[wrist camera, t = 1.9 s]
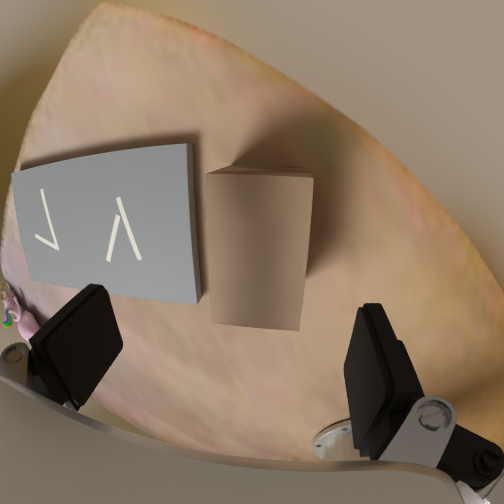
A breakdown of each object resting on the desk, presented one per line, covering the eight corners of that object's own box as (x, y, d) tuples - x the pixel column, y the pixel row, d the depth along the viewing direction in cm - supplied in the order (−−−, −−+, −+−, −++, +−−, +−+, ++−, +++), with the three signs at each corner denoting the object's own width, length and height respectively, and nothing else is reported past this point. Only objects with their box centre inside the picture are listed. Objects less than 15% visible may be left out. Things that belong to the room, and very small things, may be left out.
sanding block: (306, 168, 21) (313, 177, 15) (298, 283, 25) (298, 330, 18) (230, 165, 22) (205, 173, 15) (231, 278, 26) (211, 323, 19)
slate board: (192, 143, 21) (186, 143, 20) (201, 296, 27) (197, 304, 25) (19, 171, 24) (11, 173, 23) (38, 275, 30) (31, 280, 28)
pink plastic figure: (11, 296, 35) (59, 360, 34) (-13, 308, 29) (35, 379, 29) (12, 272, 33) (63, 340, 32) (-15, 283, 27) (35, 360, 26)
